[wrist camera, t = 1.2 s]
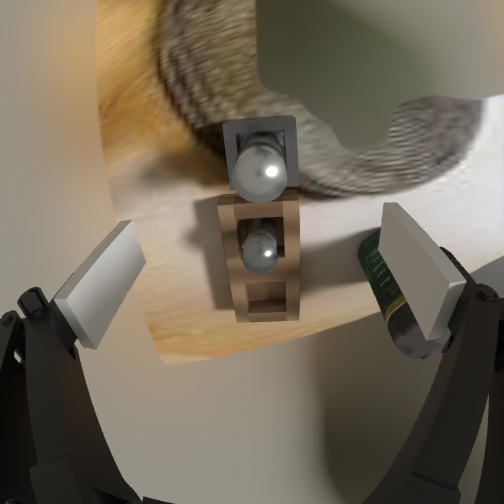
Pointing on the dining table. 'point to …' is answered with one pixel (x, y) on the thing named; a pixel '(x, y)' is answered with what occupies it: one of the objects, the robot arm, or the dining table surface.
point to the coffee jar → (396, 305)
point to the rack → (288, 253)
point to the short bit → (260, 246)
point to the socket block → (276, 125)
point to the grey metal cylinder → (260, 169)
